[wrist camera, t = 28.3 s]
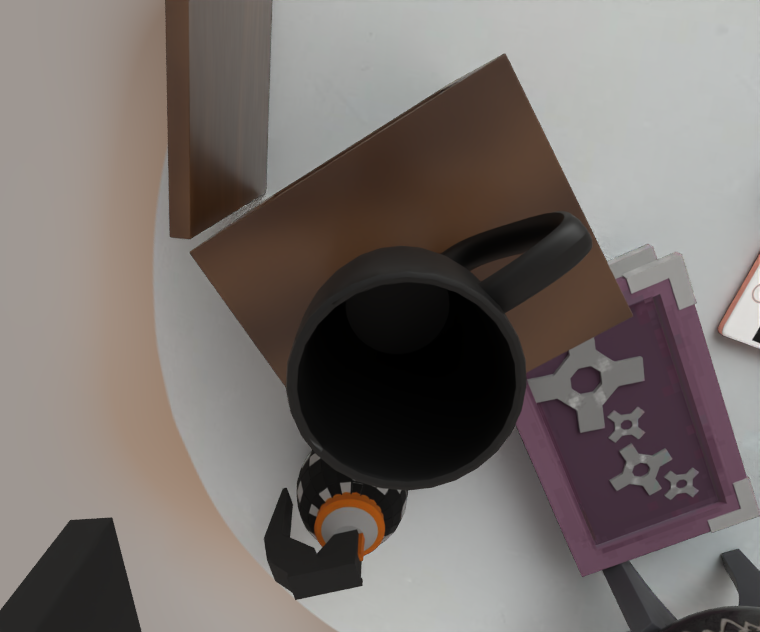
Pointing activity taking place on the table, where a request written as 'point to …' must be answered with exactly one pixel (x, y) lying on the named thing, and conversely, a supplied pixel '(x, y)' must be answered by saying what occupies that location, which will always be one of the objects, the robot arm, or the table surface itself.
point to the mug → (423, 353)
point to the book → (636, 426)
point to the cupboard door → (216, 108)
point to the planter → (706, 628)
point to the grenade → (329, 529)
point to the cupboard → (415, 217)
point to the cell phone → (745, 311)
